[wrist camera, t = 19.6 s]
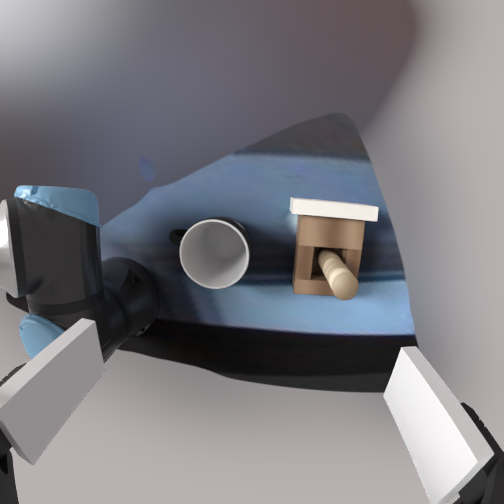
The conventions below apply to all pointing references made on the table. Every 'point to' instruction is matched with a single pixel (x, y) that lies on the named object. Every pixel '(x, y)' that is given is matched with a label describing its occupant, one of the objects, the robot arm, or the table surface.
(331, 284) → the dowel
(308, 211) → the rail
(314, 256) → the block
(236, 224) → the mug
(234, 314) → the table surface
